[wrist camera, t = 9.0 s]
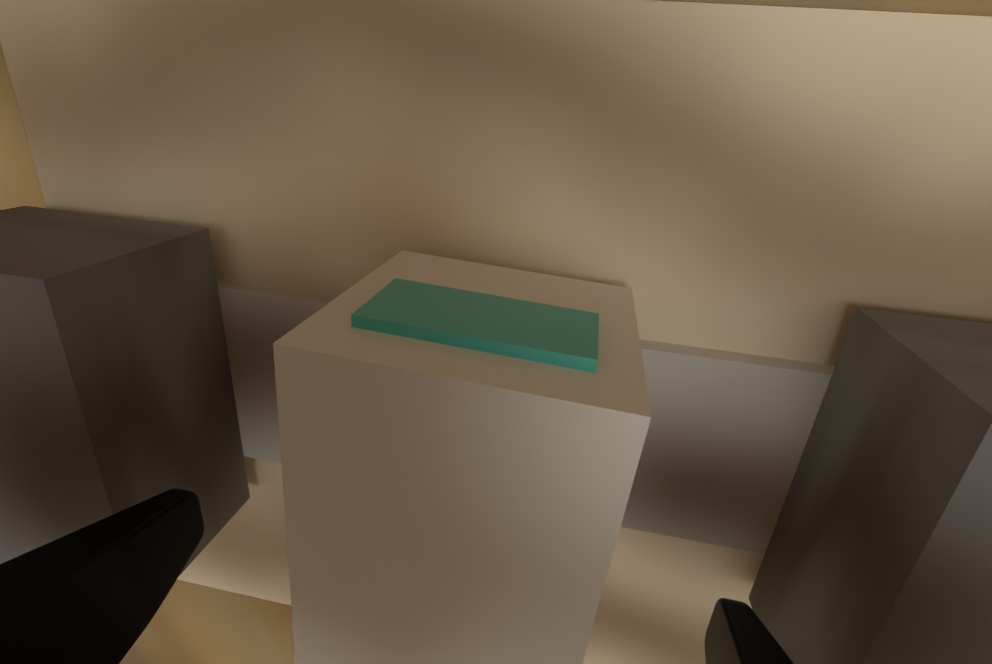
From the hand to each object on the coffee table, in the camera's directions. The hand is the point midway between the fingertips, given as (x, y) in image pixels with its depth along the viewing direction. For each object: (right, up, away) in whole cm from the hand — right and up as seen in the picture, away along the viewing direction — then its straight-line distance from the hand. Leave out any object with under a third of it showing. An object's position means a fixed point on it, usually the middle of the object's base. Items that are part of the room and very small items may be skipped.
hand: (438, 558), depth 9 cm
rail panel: (+1, +2, +5) cm, 6 cm away
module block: (+1, +2, +4) cm, 4 cm away
